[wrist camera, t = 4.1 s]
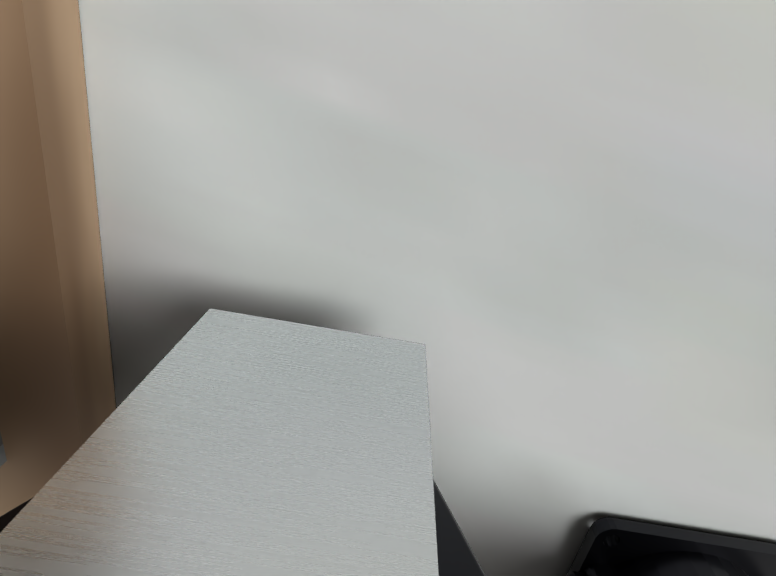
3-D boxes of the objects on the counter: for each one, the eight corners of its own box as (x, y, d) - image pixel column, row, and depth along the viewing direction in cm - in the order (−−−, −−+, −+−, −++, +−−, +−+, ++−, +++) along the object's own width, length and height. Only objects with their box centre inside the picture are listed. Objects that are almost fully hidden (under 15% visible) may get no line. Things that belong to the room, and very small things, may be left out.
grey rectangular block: (425, 344, 9) (444, 697, 4) (390, 499, 11) (369, 893, 6) (210, 308, 9) (-79, 617, 4) (208, 471, 11) (9, 843, 6)
